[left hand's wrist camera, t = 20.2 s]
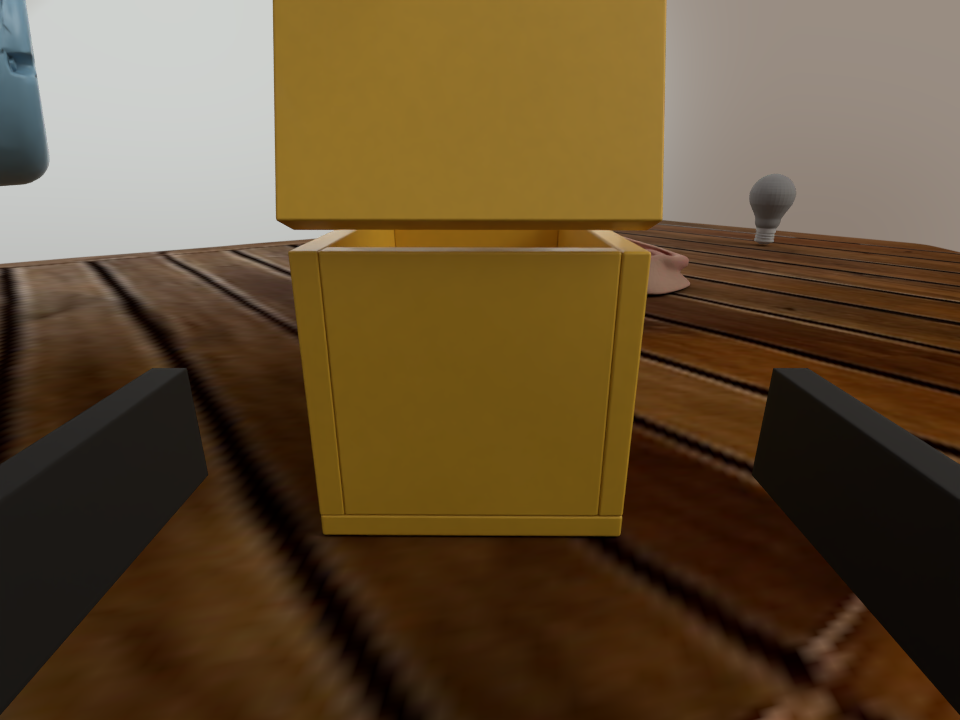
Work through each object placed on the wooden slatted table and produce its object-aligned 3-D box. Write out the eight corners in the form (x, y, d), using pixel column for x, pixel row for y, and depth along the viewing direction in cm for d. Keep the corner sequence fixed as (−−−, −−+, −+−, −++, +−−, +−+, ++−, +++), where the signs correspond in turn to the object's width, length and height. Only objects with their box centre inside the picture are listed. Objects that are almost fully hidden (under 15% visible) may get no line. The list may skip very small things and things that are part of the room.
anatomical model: (692, 254, 48) (565, 246, 52) (686, 298, 49) (563, 287, 53) (698, 236, 59) (594, 231, 63) (693, 272, 61) (591, 265, 65)
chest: (390, 378, 32) (379, 208, 28) (563, 379, 32) (573, 209, 28) (322, 536, 18) (287, 250, 15) (620, 537, 18) (652, 251, 15)
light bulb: (749, 246, 79) (762, 174, 75) (736, 240, 84) (747, 173, 81) (792, 247, 78) (807, 174, 75) (776, 241, 84) (789, 173, 80)
